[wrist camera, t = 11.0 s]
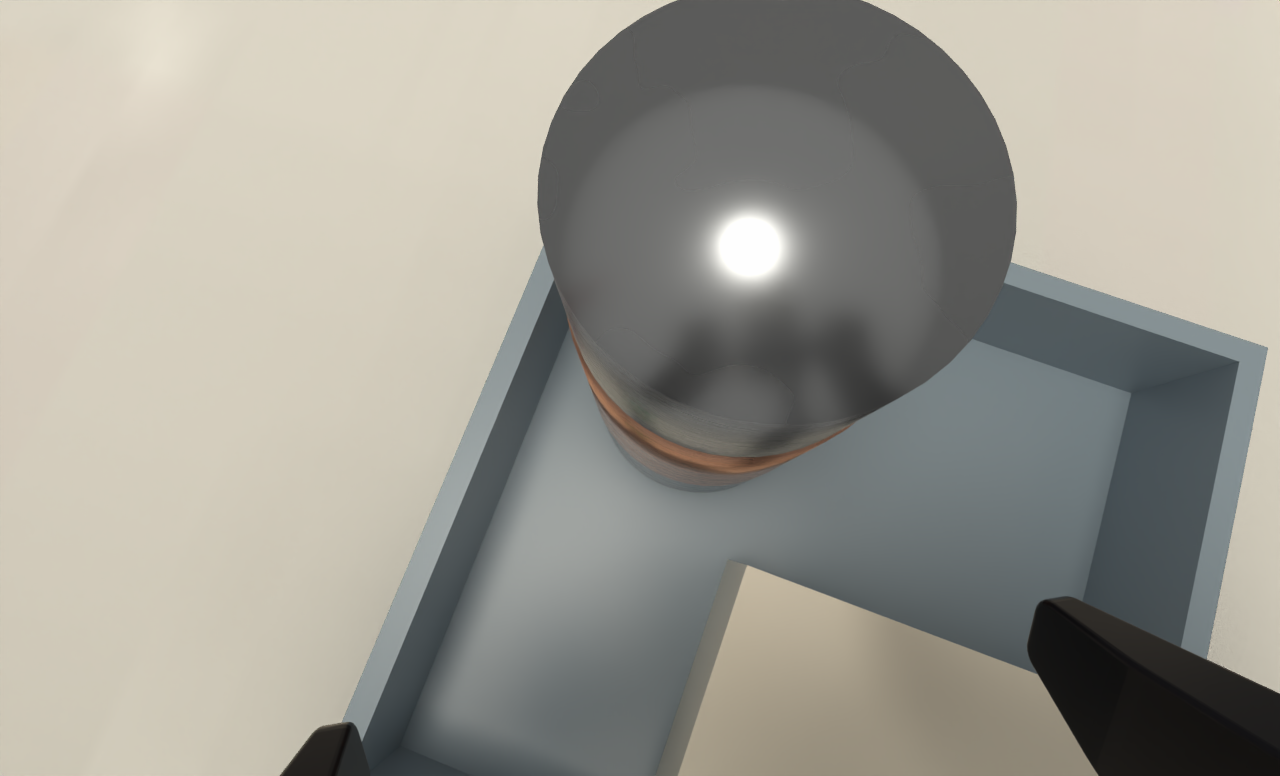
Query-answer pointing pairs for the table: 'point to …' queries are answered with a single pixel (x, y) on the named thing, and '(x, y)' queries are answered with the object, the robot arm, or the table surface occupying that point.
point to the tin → (768, 227)
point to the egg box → (852, 696)
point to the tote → (804, 528)
